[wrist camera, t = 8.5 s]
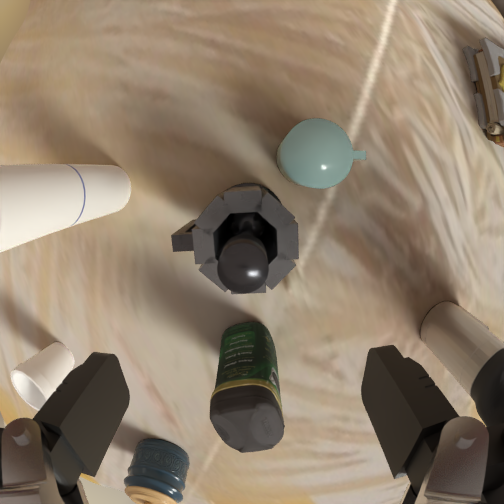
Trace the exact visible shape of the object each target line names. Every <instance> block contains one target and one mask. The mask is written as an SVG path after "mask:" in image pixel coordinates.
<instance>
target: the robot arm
mask: <svg viewBox="0 0 504 504" xmlns="http://www.w3.org/2000/svg"><path fill="white" fill-rule="evenodd" d="M420 334H421V339H422V341H423V342H424V343H425V344H426V346H427V347H428V348H429V349H430V350H431V351H432V352H433V353H434V355H435V356H436V357H437V358H438V359H439V360H440V361H441V362H442V364H443V365H444V366H445V367H446V368H447V369H448V370H449V372H450V373H451V374H452V375H453V376H454V377H455V379H456V380H457V381H458V382H459V383H460V384H461V386H462V387H463V388H464V389H465V390H466V392H467V393H468V394H469V395H470V396H471V398H472V399H473V400H474V402H475V404H476V409H477V412H478V414H479V416H480V417H481V419H482V420H483V422H484V423H485V425H486V426H487V427H485V425H484V424H483V423H482V422H480V421H479V420H477V419H475V418H472V417H467V416H462V417H460V416H459V415H458V414H457V412H456V411H455V410H454V408H453V407H452V405H451V404H450V403H449V401H448V400H447V399H446V397H445V396H444V395H443V393H442V392H441V391H440V389H439V388H438V387H437V386H435V383H434V381H433V380H432V379H431V377H429V375H428V373H427V372H426V371H425V369H424V368H423V367H422V366H421V365H420V364H419V363H417V362H415V361H414V360H412V359H411V358H409V357H408V358H404V357H403V356H402V355H401V353H400V352H399V351H398V349H397V348H396V347H395V346H394V345H388V346H382V347H376V348H371V349H370V350H369V352H368V356H367V361H366V367H365V372H364V377H363V381H362V387H361V395H362V401H363V404H364V406H365V409H366V411H367V413H368V416H369V418H370V420H371V423H372V425H373V427H374V430H375V432H376V435H377V437H378V440H379V442H380V444H381V447H382V449H383V452H384V454H385V457H386V459H387V462H388V464H389V467H390V469H391V472H392V475H393V477H394V479H396V478H400V477H403V476H406V475H407V476H408V478H409V480H410V482H409V484H408V485H407V488H406V490H405V492H404V495H403V497H402V499H401V501H400V504H504V342H503V341H502V340H500V339H499V338H498V337H497V336H495V335H494V334H493V333H492V332H490V331H489V328H488V326H486V325H485V324H484V323H482V322H481V321H480V320H478V319H477V318H476V317H474V316H473V315H472V314H471V313H469V312H468V311H466V310H465V309H464V308H462V307H461V306H457V305H455V304H454V303H452V302H450V301H445V302H441V303H439V304H437V305H436V306H435V307H433V308H432V309H431V310H430V311H429V313H428V314H427V315H426V317H425V319H424V321H423V323H422V326H421V331H420ZM129 400H130V395H129V389H128V387H127V384H126V381H125V378H124V375H123V372H122V369H121V366H120V363H119V360H118V358H117V356H116V355H114V354H108V353H99V352H93V353H92V354H91V355H90V356H89V357H88V358H87V360H86V361H85V362H84V363H83V365H80V366H78V367H77V368H75V369H74V370H72V371H71V372H69V374H68V375H67V376H66V377H65V378H64V380H63V381H62V384H61V383H60V385H59V386H58V387H57V388H56V392H55V391H54V392H53V393H52V395H51V396H50V397H49V398H48V400H47V401H46V402H45V404H44V405H43V406H42V407H41V409H40V410H39V411H38V413H37V414H36V415H35V417H34V418H33V419H30V418H19V419H16V420H13V421H12V422H10V423H9V424H8V425H7V426H6V427H5V428H0V504H89V503H88V500H87V498H86V495H85V492H84V489H83V486H82V483H81V481H80V480H79V479H78V478H79V476H80V474H81V473H84V474H87V475H90V476H93V477H95V476H96V473H97V471H98V469H99V467H100V464H101V462H102V460H103V458H104V456H105V454H106V451H107V449H108V447H109V445H110V443H111V441H112V439H113V437H114V434H115V432H116V430H117V428H118V426H119V424H120V422H121V420H122V418H123V416H124V414H125V412H126V410H127V408H128V405H129Z"/></svg>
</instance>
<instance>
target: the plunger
mask: <svg viewBox="0 0 504 504" xmlns="http://www.w3.org/2000/svg"><path fill="white" fill-rule="evenodd" d="M264 228H265V223H264V219H263V217H262V216H261V215H260V214H259V213H258V212H245V213H235V214H234V216H233V218H232V220H231V231H232V233H233V235H234V237H232V238H231V239H230V240H229V241H228V242H227V243H226V244H225V246H224V248H223V251H222V253H221V256H220V258H219V261H218V264H217V273H218V277H219V279H220V281H221V282H222V284H223V285H224V286H225V287H226V288H228V289H229V290H231V291H233V292H236V293H243V294H245V293H251V292H253V291H256V290H257V289H259V288H260V287H261V286H262V285H263V284H264V283H265V281H266V279H267V277H268V273H269V266H268V260H267V254H266V249H265V247H264V245H263V243H262V242H261V241H260V240H259V238H260V237H261V235H262V234H263V232H264Z"/></svg>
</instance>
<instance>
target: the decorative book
mask: <svg viewBox="0 0 504 504" xmlns="http://www.w3.org/2000/svg"><path fill="white" fill-rule="evenodd" d="M479 42H480V44H481V46H482V49H481V50H478V49H475V48H474V49H473V48H471V47H469V46H467V47H465V48H463V51H464V54H465V56H466V59H467V62H468V65H469V69H470V75H471V82H476V87H477V92H478V93H476V94H474V96H475V100H476V105H477V109H478V118H479V126H480V127H481V128H482V129H486V130H487V131H486V136H487V138H488V140H491V141H493V142H495V144H498V145H500V146H502V147H504V49H503V48H501V47H499V46H498V45H496V44H494V43H493V42H491V41H490V40H488V39H487V38H483V39H481V40H479Z"/></svg>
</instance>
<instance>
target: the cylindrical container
mask: <svg viewBox="0 0 504 504" xmlns="http://www.w3.org/2000/svg"><path fill="white" fill-rule="evenodd" d="M130 194H131V183H130V179H129V177H128V175H127V173H126V172H125V171H124V170H123V169H122V168H120V167H118V166H115V165H94V164H23V165H0V253H1V252H3V251H6V250H8V249H11V248H13V247H16V246H18V245H21V244H23V243H26V242H29V241H31V240H34V239H37V238H40V237H42V236H45V235H48V234H51V233H54V232H56V231H59V230H62V229H65V228H68V227H71V226H74V225H77V224H80V223H83V222H86V221H89V220H92V219H95V218H99V217H102V216H105V215H108V214H111V213H115V212H118V211H119V210H121V209H122V208H123V207H124V206H125V205H126V204H127V202H128V200H129V198H130Z"/></svg>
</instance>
